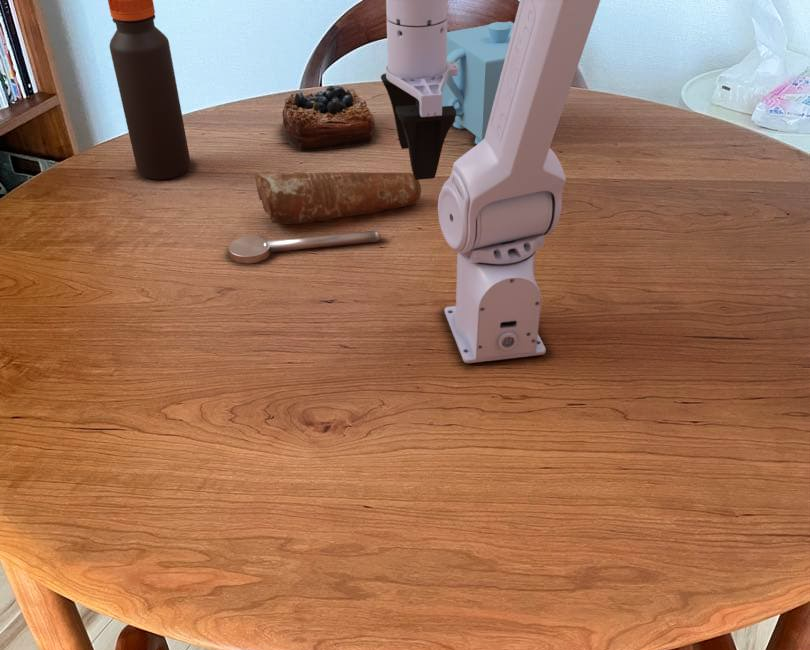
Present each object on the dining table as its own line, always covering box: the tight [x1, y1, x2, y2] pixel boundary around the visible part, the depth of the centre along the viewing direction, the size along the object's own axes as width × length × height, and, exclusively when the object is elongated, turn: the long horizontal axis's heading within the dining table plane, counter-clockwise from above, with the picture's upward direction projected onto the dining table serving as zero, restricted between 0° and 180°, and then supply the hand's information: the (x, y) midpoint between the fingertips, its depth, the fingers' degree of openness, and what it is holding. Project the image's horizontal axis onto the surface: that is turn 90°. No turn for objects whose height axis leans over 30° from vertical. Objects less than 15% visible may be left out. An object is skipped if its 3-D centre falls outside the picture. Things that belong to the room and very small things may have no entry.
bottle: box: [107, 0, 191, 181], centre depth 109 cm, size 7×7×20 cm
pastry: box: [281, 85, 375, 152], centre depth 121 cm, size 11×12×6 cm
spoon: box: [228, 230, 381, 265], centre depth 101 cm, size 5×17×1 cm, turn 100°
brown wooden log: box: [255, 171, 422, 225], centre depth 105 cm, size 6×19×6 cm, turn 104°
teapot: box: [442, 21, 514, 145], centre depth 117 cm, size 18×16×13 cm
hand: (417, 162), depth 95 cm, fingers open, 7 cm apart
